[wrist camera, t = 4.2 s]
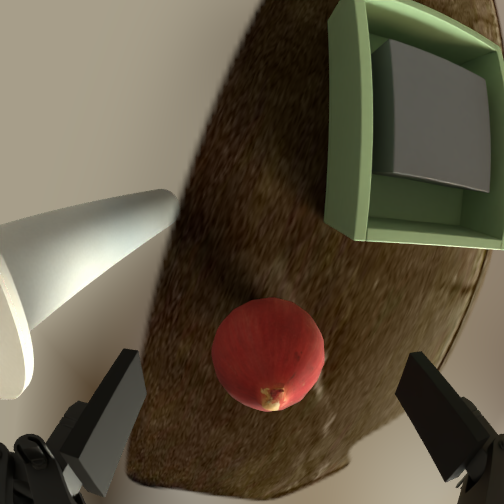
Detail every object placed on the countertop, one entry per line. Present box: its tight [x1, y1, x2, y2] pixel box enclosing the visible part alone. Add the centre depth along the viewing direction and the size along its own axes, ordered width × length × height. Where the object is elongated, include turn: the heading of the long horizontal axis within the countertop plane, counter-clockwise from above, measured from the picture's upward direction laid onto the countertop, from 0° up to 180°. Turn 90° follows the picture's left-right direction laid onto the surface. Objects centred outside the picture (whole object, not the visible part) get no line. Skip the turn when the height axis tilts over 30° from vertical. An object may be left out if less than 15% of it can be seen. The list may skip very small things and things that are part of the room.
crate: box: [324, 0, 504, 250], centre depth 13 cm, size 11×13×5 cm
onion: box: [212, 297, 324, 412], centre depth 14 cm, size 6×6×8 cm
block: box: [371, 39, 491, 193], centre depth 13 cm, size 7×7×4 cm
